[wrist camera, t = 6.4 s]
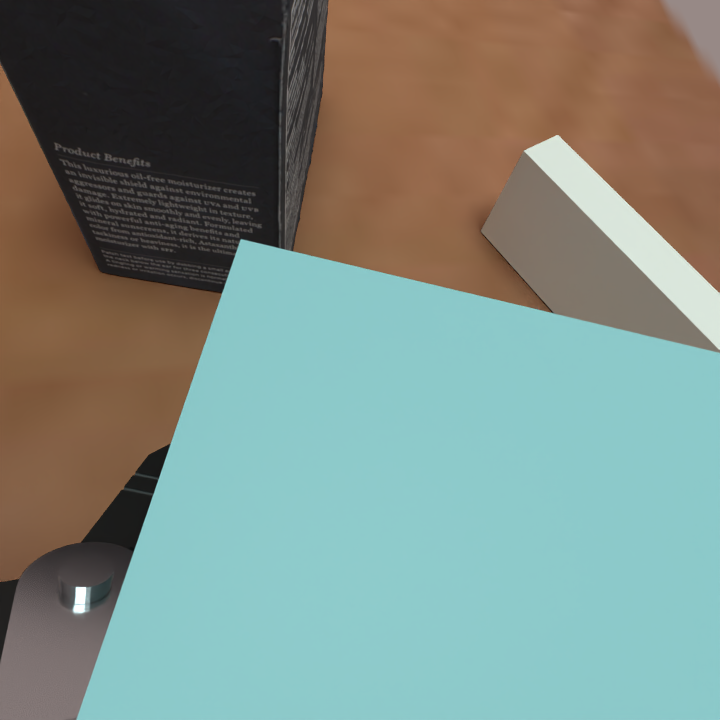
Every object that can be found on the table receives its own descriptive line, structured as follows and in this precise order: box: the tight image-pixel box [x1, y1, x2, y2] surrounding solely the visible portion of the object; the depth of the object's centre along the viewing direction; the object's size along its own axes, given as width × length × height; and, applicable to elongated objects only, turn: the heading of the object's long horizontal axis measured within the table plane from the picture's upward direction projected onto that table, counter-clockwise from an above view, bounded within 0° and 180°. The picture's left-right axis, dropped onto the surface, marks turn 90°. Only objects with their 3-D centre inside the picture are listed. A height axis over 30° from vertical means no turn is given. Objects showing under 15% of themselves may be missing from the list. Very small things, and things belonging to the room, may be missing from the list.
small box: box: [0, 0, 328, 292], centre depth 16 cm, size 11×6×10 cm, turn 175°
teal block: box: [77, 239, 720, 720], centre depth 9 cm, size 6×6×10 cm
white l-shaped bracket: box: [481, 135, 720, 353], centre depth 13 cm, size 23×21×4 cm
